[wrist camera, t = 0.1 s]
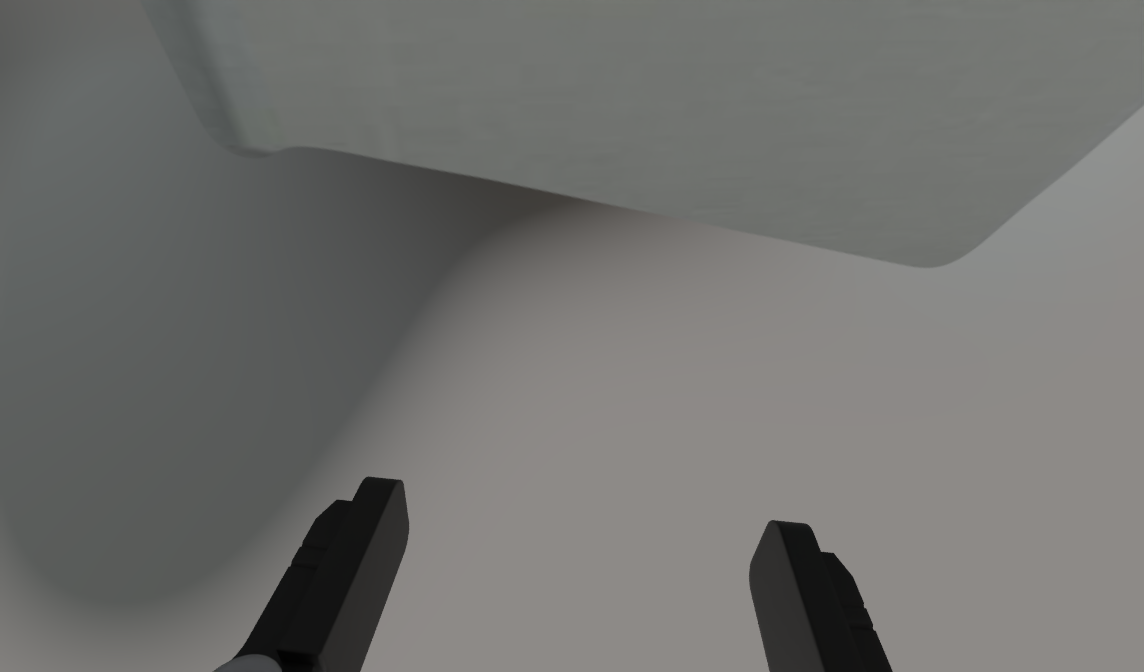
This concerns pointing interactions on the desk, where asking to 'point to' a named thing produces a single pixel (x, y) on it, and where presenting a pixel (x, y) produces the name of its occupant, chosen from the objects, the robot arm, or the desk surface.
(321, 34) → the desk surface
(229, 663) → the robot arm
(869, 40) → the desk surface
